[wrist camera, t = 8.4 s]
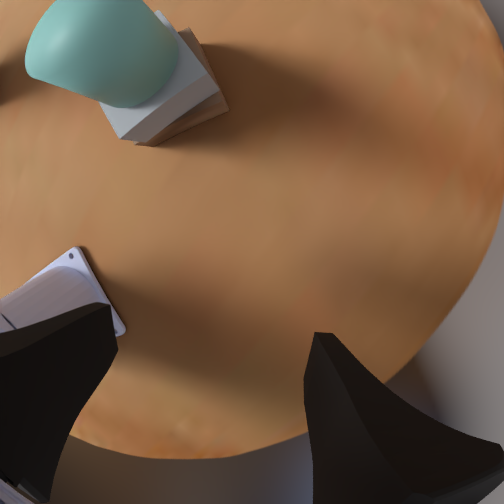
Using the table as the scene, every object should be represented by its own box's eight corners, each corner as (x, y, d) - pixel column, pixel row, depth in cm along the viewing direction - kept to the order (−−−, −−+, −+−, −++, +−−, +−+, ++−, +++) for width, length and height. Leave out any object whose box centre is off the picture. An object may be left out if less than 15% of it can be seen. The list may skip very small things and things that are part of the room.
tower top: (145, 142, 14) (119, 138, 11) (110, 82, 13) (82, 71, 10) (220, 89, 13) (207, 73, 10) (176, 31, 12) (158, 9, 9)
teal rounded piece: (99, 123, 11) (21, 102, 6) (94, 51, 10) (32, 18, 5) (185, 85, 10) (124, 31, 5) (172, 13, 9) (124, -45, 4)
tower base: (154, 147, 17) (134, 144, 14) (130, 81, 16) (109, 71, 13) (230, 111, 16) (222, 101, 13) (201, 45, 15) (189, 27, 12)
